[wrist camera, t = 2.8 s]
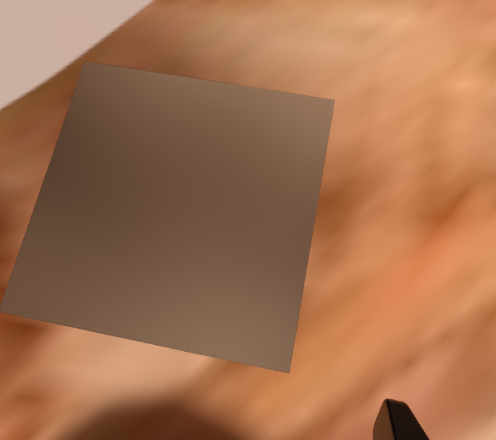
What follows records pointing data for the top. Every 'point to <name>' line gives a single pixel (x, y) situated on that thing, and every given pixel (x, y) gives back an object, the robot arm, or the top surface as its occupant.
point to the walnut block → (177, 215)
